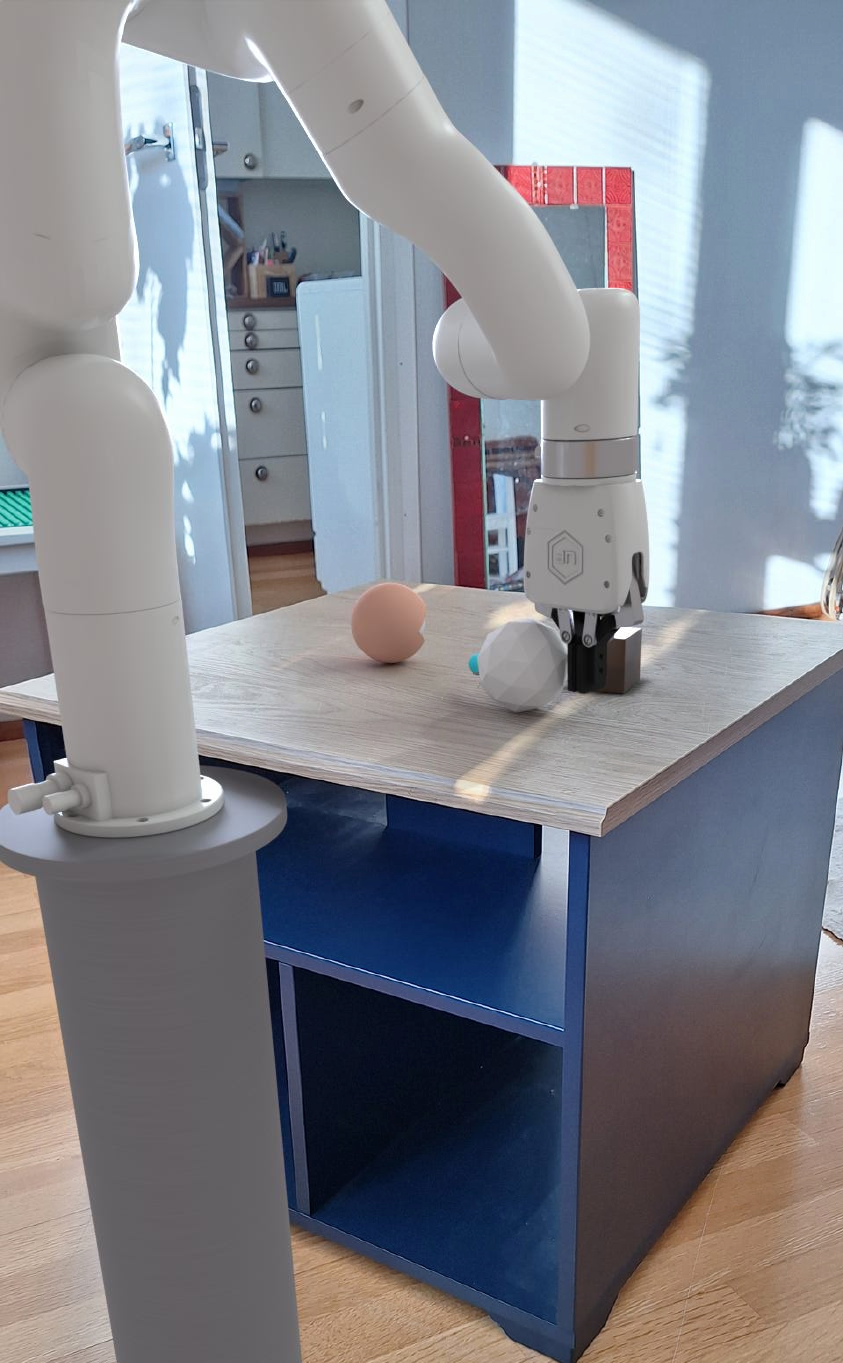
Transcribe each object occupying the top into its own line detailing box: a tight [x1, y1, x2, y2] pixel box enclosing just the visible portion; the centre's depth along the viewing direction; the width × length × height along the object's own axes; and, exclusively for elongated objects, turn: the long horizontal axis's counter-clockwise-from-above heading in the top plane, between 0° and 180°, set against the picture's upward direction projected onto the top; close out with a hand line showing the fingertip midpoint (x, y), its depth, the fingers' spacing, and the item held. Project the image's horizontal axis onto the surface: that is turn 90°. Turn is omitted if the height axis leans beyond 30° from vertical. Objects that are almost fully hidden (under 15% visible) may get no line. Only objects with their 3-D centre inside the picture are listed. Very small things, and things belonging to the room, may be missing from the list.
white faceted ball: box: [468, 617, 568, 714], centre depth 113 cm, size 8×8×12 cm
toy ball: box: [350, 582, 427, 664], centre depth 130 cm, size 8×8×8 cm
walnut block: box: [594, 626, 643, 695], centre depth 119 cm, size 5×5×5 cm
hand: (586, 688), depth 109 cm, fingers closed
